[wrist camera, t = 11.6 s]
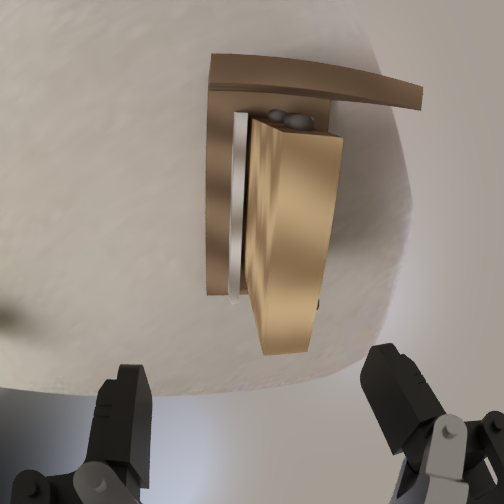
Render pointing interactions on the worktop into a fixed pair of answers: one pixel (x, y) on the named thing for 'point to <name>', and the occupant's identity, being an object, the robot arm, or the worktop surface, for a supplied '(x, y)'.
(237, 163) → the hinge base
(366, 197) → the worktop surface
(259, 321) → the oak door
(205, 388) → the worktop surface
